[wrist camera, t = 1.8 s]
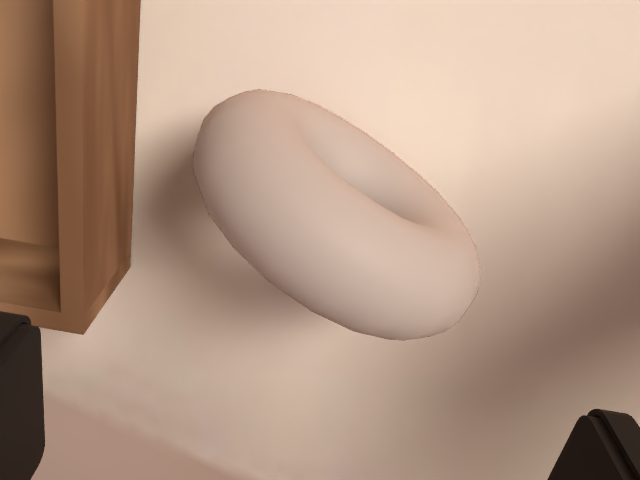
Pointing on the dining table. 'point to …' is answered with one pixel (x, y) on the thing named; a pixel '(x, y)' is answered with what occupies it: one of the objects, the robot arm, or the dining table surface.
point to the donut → (334, 217)
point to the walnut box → (66, 156)
